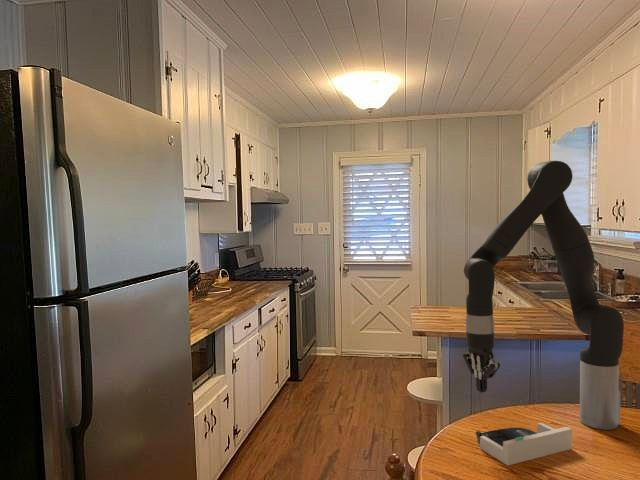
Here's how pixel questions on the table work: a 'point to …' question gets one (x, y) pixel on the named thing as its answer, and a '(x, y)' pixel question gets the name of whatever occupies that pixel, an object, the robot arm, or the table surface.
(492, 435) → the electronic device
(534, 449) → the charging dock
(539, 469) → the table surface
